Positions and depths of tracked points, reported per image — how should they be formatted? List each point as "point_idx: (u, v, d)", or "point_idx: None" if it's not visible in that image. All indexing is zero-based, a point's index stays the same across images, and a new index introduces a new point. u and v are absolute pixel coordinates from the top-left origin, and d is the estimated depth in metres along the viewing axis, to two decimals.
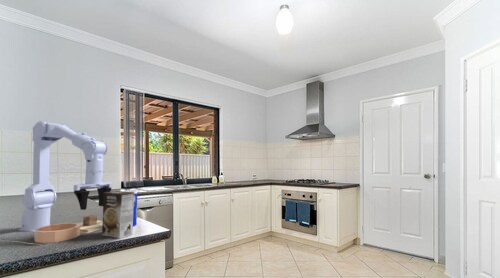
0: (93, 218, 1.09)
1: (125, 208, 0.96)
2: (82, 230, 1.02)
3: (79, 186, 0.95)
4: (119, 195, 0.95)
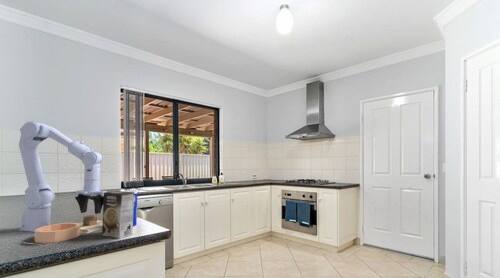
0: (93, 218, 1.09)
1: (125, 208, 0.96)
2: (82, 230, 1.02)
3: (77, 191, 1.12)
4: (119, 195, 0.95)
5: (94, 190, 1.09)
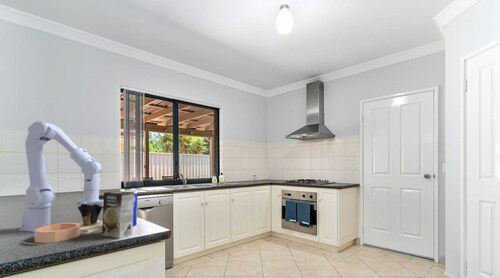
0: None
1: (125, 208, 0.96)
2: (82, 230, 1.02)
3: (77, 201, 1.11)
4: (119, 195, 0.95)
5: (94, 200, 1.09)
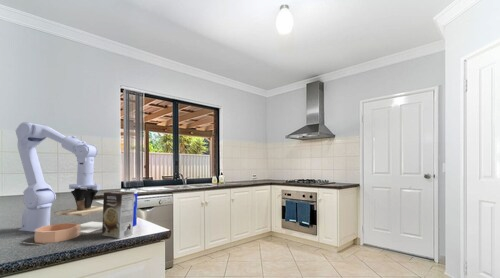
0: None
1: (125, 208, 0.96)
2: (76, 214, 0.99)
3: (70, 185, 1.08)
4: (119, 195, 0.95)
5: (88, 184, 1.06)
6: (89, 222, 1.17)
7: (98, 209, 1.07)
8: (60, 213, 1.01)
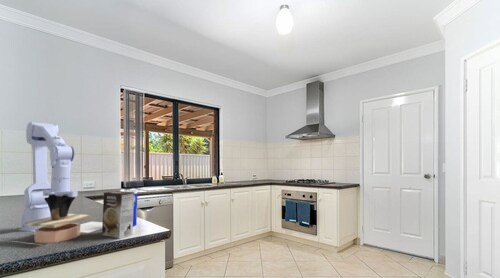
0: None
1: (125, 208, 0.96)
2: (48, 225, 0.88)
3: (44, 192, 0.97)
4: (119, 195, 0.95)
5: (63, 190, 0.94)
6: (89, 222, 1.17)
7: (75, 218, 0.95)
8: (31, 224, 0.90)
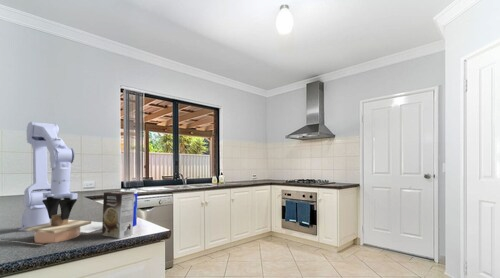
0: None
1: (125, 208, 0.96)
2: (48, 231, 0.88)
3: (44, 194, 0.97)
4: (119, 195, 0.95)
5: (63, 192, 0.94)
6: None
7: (75, 224, 0.95)
8: (31, 229, 0.90)
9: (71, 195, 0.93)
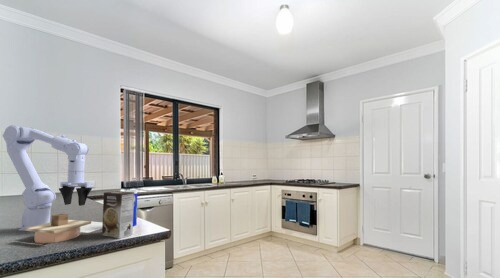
0: (63, 217, 0.95)
1: (125, 208, 0.96)
2: (48, 231, 0.88)
3: (61, 183, 1.09)
4: (119, 195, 0.95)
5: (78, 181, 1.07)
6: None
7: (75, 224, 0.95)
8: (31, 229, 0.90)
9: (86, 184, 1.06)
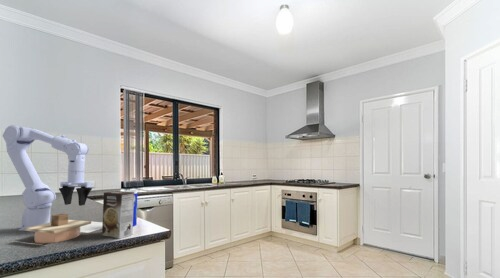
0: (63, 217, 0.95)
1: (125, 208, 0.96)
2: (48, 231, 0.88)
3: (61, 183, 1.09)
4: (119, 195, 0.95)
5: (78, 181, 1.07)
6: None
7: (75, 224, 0.95)
8: (31, 229, 0.90)
9: (86, 184, 1.06)
